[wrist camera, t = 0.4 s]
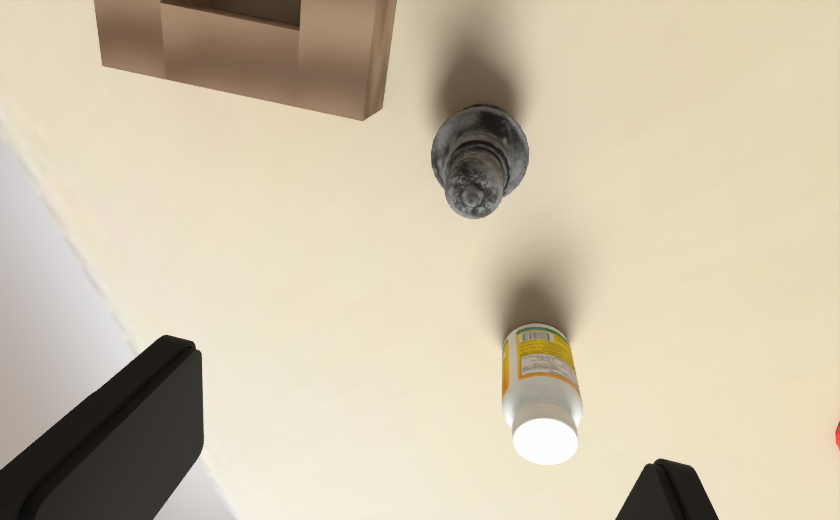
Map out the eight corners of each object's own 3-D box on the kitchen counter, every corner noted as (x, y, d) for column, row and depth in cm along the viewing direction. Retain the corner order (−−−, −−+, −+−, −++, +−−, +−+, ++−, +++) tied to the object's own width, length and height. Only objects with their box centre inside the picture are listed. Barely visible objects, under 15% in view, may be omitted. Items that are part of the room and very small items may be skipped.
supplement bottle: (537, 308, 36) (548, 394, 27) (584, 350, 37) (610, 446, 28) (487, 347, 38) (484, 438, 30) (533, 386, 39) (543, 484, 30)
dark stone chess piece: (446, 193, 33) (420, 269, 22) (430, 108, 31) (392, 147, 20) (530, 180, 32) (546, 254, 21) (520, 90, 29) (532, 122, 19)
